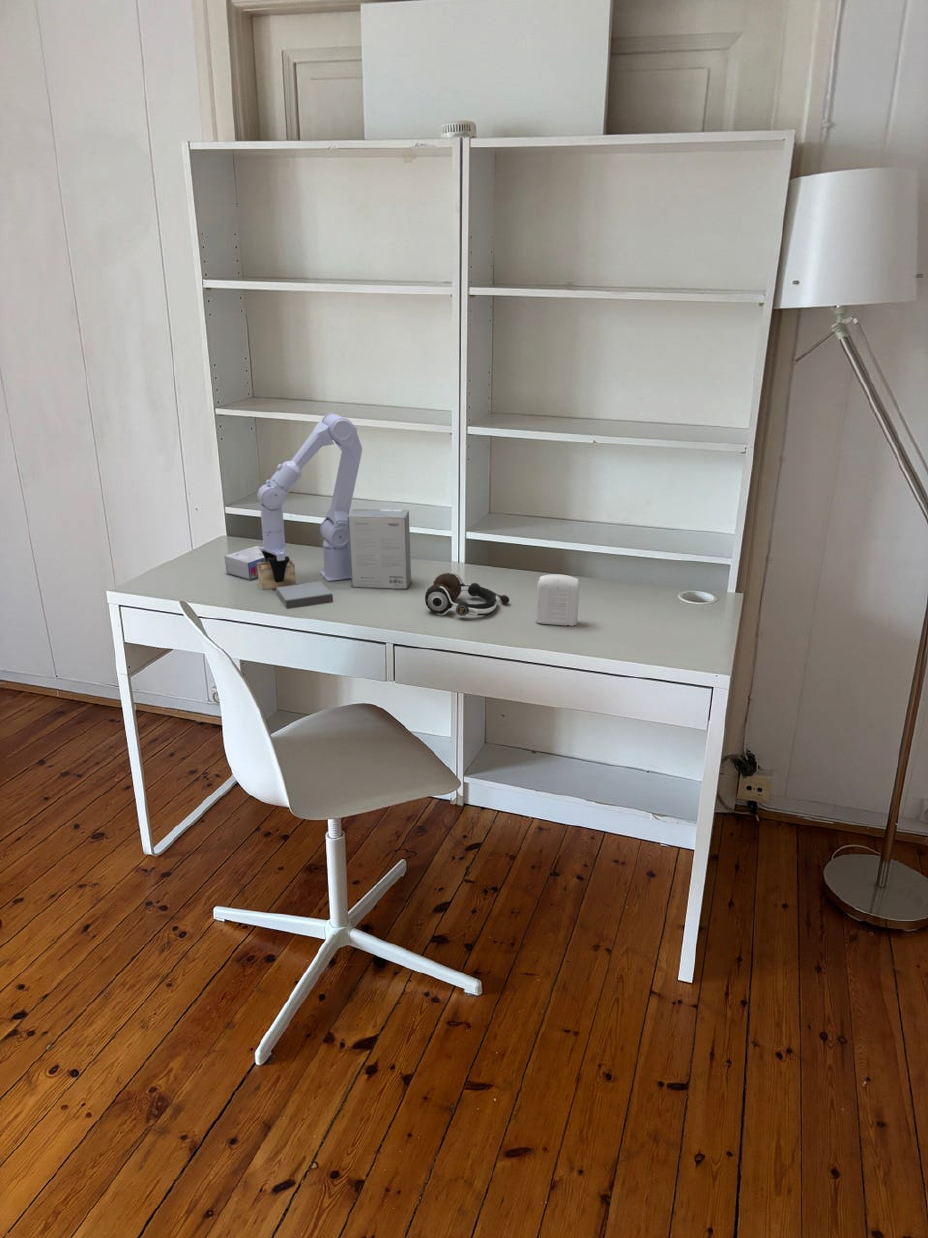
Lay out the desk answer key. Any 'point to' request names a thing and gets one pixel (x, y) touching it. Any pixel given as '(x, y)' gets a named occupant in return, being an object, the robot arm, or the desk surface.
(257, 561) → the ink cartridge box
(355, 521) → the hard drive box
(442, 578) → the headset
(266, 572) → the tan mottled box
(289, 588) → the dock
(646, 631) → the desk surface
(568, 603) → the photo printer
